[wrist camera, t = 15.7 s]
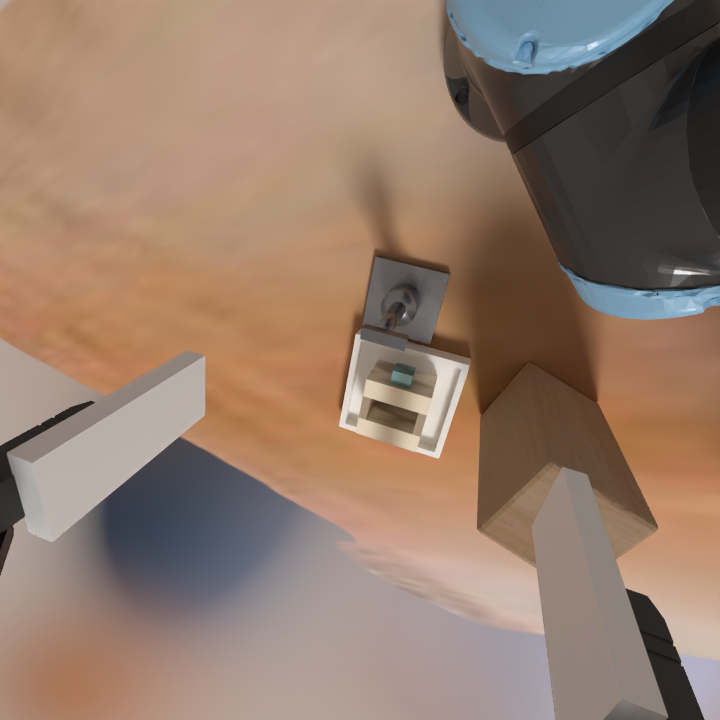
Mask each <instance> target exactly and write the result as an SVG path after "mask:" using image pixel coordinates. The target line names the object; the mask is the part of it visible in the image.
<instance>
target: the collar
mask: <svg viewBox="0 0 720 720" xmlns="http://www.w3.org/2000/svg"><path fill="white" fill-rule="evenodd" d="M437 377H438V376H434V375H431V374H427V373H424V372H420V371H417V370H416V368H415V367H412V366H408V365H405V364H401V363H398V362H397V364H392V363H389V362H385V361H382V360H378V361H377V363H376V364H375V366H374V367H373V369H372V371H371V372H370V374H369V376H368V377H367V379H366V383H365V388H364V393H363V398H362V403H361V408H360V412H359V417H358V422H357V427H356V432H355V433H358V434H361V435H364V436H367V437H370V438H373V439H376V440H379V441H382V442H386V443H389V444H392V445H395V446H398V447H401V448H404V449H407V450H410V451H413V452H416V450H417V447H418V444H419V440H420V437H421V434H422V430H423V427H424V423H425V420H426V417H427V413H428V410H429V407H430V403H431V400H432V396H433V392H434V388H435V385H436V381H437Z"/></svg>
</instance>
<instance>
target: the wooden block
mask: <svg viewBox="0 0 720 720" xmlns="http://www.w3.org/2000/svg"><path fill="white" fill-rule="evenodd" d="M562 467H565V468H568V469H571V470H575V471H578V472H581V473H584V474H587V475H588V478H589V481H590V484H591V487H592V490H593V493H594V496H595V499H596V502H597V505H598V508H599V511H600V514H601V517H602V520H603V523H604V526H605V529H606V532H607V535H608V538H609V541H610V544H611V547H612V550H613V553H614V556H615V559H617V558H618V557H620V556H621V555H623V554H624V553H626V552H627V551H629V550H630V549H632V548H633V547H634V546H636V545H637V544H639V543H640V542H642V541H643V540H645V539H646V538H648V537H649V536H651V535H652V534H653V533H655V532H656V531H657V529H658V525H657V523H656V521H655V519H654V517H653V515H652V513H651V511H650V509H649V507H648V505H647V503H646V501H645V499H644V497H643V495H642V493H641V490H640V488H639V486H638V484H637V482H636V480H635V478H634V476H633V474H632V472H631V470H630V468H629V466H628V464H627V462H626V460H625V458H624V456H623V454H622V452H621V450H620V447H619V445H618V443H617V441H616V439H615V437H614V435H613V433H612V431H611V429H610V427H609V425H608V423H607V421H606V419H605V417H604V415H603V413H602V411H601V409H600V407H599V405H598V403H596V402H594V401H593V400H591V399H590V398H588V397H586V396H585V395H583V394H581V393H580V392H578V391H577V390H575V389H573V388H572V387H570V386H568V385H567V384H565V383H563V382H562V381H560V380H559V379H557V378H555V377H554V376H552V375H550V374H549V373H547V372H546V371H544V370H542V369H541V368H539V367H537V366H536V365H534V364H532V363H529V362H528V363H527V364H525V366H524V367H523V368H522V369H521V370H520V371H519V373H518V374H517V375H516V376H515V377H514V378H513V379H512V381H511V382H510V383H509V384H508V385H507V386H506V388H505V389H504V390H503V391H502V392H501V393H500V395H499V396H498V397H497V398H496V399H495V400H494V401H493V403H492V404H491V405H490V406H489V407H488V408H487V410H486V411H485V412H484V413H483V414H482V415H481V421H480V451H479V481H478V511H477V529H478V531H479V532H480V533H482V534H483V535H485V536H486V537H488V538H490V539H491V540H493V541H494V542H496V543H498V544H499V545H501V546H502V547H504V548H505V549H507V550H509V551H510V552H512V553H513V554H515V555H516V556H518V557H520V558H521V559H523V560H524V561H526V562H528V563H529V564H531V565H532V566H534V567H535V568H537V566H536V558H535V550H534V542H533V534H532V524H533V522H534V520H535V518H536V517H537V515H538V513H539V511H540V509H541V507H542V505H543V503H544V501H545V499H546V497H547V495H548V493H549V491H550V490H551V488H552V486H553V484H554V482H555V480H556V478H557V476H558V474H559V472H560V470H561V468H562Z"/></svg>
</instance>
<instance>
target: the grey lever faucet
mask: <svg viewBox="0 0 720 720" xmlns="http://www.w3.org/2000/svg"><path fill="white" fill-rule="evenodd" d="M449 275H450V273H447V272H443V271H439V270H434V269H430V268H426V267H422V266H418V265H414V264H409V263H405V262H401V261H397V260H393V259H389V258H384V257H380V256H376V257H375V260H374V266H373V271H372V276H371V282H370V287H369V292H368V297H367V303H366V308H365V313H364V319H363V324H362V326H363V327H362V330H361V336H360V339H362V340H365V341H369V342H372V343H376V344H379V345H383V346H387V347H390V348H394V349H397V350H401V351H405V349H406V347H407V343H408V339H412V340H415V341H419V342H423V343H426V344H430V343H431V340H432V337H433V333H434V329H435V326H436V322H437V319H438V315H439V311H440V308H441V304H442V301H443V297H444V293H445V290H446V286H447V282H448V279H449Z"/></svg>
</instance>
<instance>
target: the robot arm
mask: <svg viewBox="0 0 720 720" xmlns="http://www.w3.org/2000/svg"><path fill="white" fill-rule="evenodd" d="M445 1H446V12H447V14H448V17H449V20H450V23H449V26H448V30H447V35H446V40H445V48H444V71H445V78H446V83H447V87H448V91H449V94H450V96H451V99H452V101H453V103H454V105H455V107H456V109H457V111H458V112H459V114H460V115H461V117H462V118H463V119H464V121H465V122H466V123H467V124H468V125H469V126H470V127H471V128H473V129H474V130H475V131H477V132H478V133H480V134H481V135H483V136H485V137H487V138H490V139H493V140H496V141H500V142H506V143H507V145H508V148H509V150H510V152H511V154H512V157H513V160H514V162H515V164H516V166H517V168H518V171H519V173H520V175H521V177H522V180H523V182H524V184H525V186H526V188H527V191H528V193H529V195H530V197H531V200H532V202H533V204H534V206H535V208H536V211H537V213H538V215H539V217H540V220H541V222H542V224H543V226H544V228H545V231H546V233H547V235H548V237H549V240H550V242H551V244H552V246H553V248H554V251H555V253H556V257H557V261H558V263H559V264H560V267H561V269H562V270H563V271H564V272H565V273H566V274H567V275H568V276H569V278H570V280H571V282H572V284H573V285H574V287H575V289H576V291H577V293H578V294H579V296H580V297H581V299H582V300H583V301H584V302H585V303H586V304H587V305H589V306H590V307H592V308H593V309H595V310H597V311H599V312H602V313H604V314H607V315H611V316H615V317H620V318H629V319H666V318H676V317H683V316H689V315H694V314H700V313H703V312H704V311H705V309H706V308H708V307H710V306H715V305H720V0H445ZM203 416H205V356H204V355H201V354H198V353H195V352H192V351H188V350H187V351H185V352H184V353H182V354H180V355H178V356H177V357H175V358H173V359H171V360H169V361H168V362H166V363H164V364H162V365H161V366H159V367H157V368H155V369H154V370H152V371H150V372H148V373H147V374H145V375H143V376H141V377H140V378H138V379H136V380H134V381H132V382H131V383H129V384H127V385H125V386H124V387H122V388H120V389H118V390H117V391H115V392H113V393H111V394H110V395H108V396H106V397H104V398H103V399H101V400H99V401H97V402H93V401H89V402H86V403H83V404H80V405H76V406H73V407H70V408H69V409H67V410H65V411H63V412H61V413H59V414H58V415H56V416H55V418H50V419H48V420H47V421H45V422H43V423H42V424H41V425H40V426H39V425H38V426H36V427H34V428H32V429H30V430H28V431H26V432H25V433H23V434H21V435H19V436H17V437H15V438H14V439H12V440H10V441H8V442H6V443H4V444H3V445H1V446H0V575H1V572H2V569H3V566H4V562H5V560H6V556H7V553H8V551H9V548H10V544H11V542H12V539H13V535H14V528H13V525H14V524H15V523H16V522H18V521H19V520H20V519H22V518H23V517H25V520H26V524H27V527H28V531H29V532H30V533H32V534H34V535H36V536H39V537H41V538H43V539H45V540H48V541H50V542H53V541H54V540H55V539H57V538H58V537H59V536H60V535H61V534H63V533H64V532H65V531H66V530H67V529H69V528H70V527H71V526H72V525H73V524H74V523H76V522H77V521H78V520H79V519H80V518H82V517H83V516H84V515H85V514H86V513H88V512H89V511H90V510H91V509H93V508H94V507H95V506H96V505H97V504H98V503H100V502H101V501H102V500H103V499H105V498H106V497H107V496H108V495H109V494H111V493H112V492H113V491H114V490H115V489H117V488H118V487H119V486H120V485H121V484H123V483H124V482H125V481H126V480H127V479H129V478H130V477H131V476H132V475H133V474H135V473H136V472H137V471H138V470H140V469H141V468H142V467H143V466H144V465H145V464H146V463H148V462H149V461H150V460H152V459H153V458H154V457H155V456H156V455H158V454H159V453H160V452H161V451H162V450H163V449H165V448H166V447H167V446H168V445H170V444H171V443H172V442H173V441H174V440H175V439H177V438H178V437H179V436H180V435H182V434H183V433H184V432H185V431H186V430H188V429H189V428H190V427H191V426H192V425H194V424H195V423H196V422H197V421H198V420H200V419H201V418H202V417H203ZM532 534H533V542H534V550H535V558H536V566H537V574H538V582H539V591H540V599H541V607H542V615H543V623H544V631H545V639H546V647H547V655H548V663H549V671H550V679H551V687H552V695H553V703H554V711H555V719H556V720H704V717H703V715H702V712H701V710H700V707H699V705H698V703H697V700H696V697H695V695H694V692H693V690H692V687H691V685H690V682H689V680H688V677H687V675H686V672H685V670H684V667H682V666H681V660H680V658H679V655H678V652H677V650H676V647H674V646H673V640H672V637H671V635H670V632H669V630H668V627H667V625H666V622H665V620H664V618H663V617H662V615H661V614H660V613H659V611H658V610H657V608H656V607H655V606H654V604H653V603H652V602H651V600H650V599H649V598H648V596H646V595H643V594H640V593H637V592H634V591H631V590H629V589H626V588H625V586H624V583H623V580H622V577H621V574H620V571H619V568H618V565H617V562H616V559H615V556H614V553H613V550H612V547H611V544H610V541H609V538H608V535H607V532H606V529H605V526H604V523H603V520H602V517H601V514H600V511H599V508H598V505H597V502H596V499H595V496H594V493H593V490H592V487H591V484H590V481H589V478H588V475H587V474H584V473H581V472H578V471H575V470H571V469H568V468H565V467H562V468H561V470H560V472H559V474H558V476H557V478H556V480H555V482H554V484H553V486H552V488H551V490H550V491H549V493H548V495H547V497H546V499H545V501H544V503H543V505H542V507H541V509H540V511H539V513H538V515H537V517H536V518H535V520H534V522H533V524H532Z"/></svg>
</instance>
